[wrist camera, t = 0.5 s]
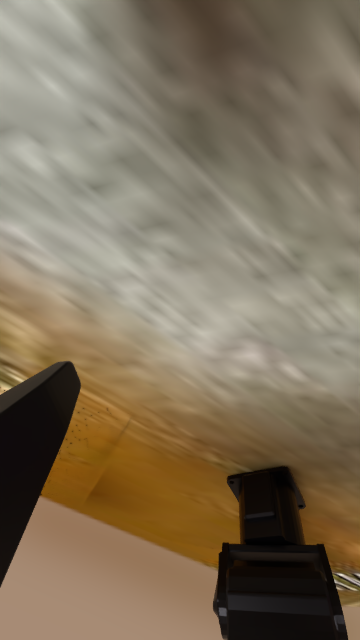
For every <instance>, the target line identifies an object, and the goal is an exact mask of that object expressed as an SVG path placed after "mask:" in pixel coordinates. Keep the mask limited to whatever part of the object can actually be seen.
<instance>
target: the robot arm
mask: <svg viewBox="0 0 360 640" xmlns="http://www.w3.org/2000/svg"><path fill="white" fill-rule="evenodd" d="M80 388H81V383H80V380H79V377H78V375H77V372H76V370H75V367H74V365H73V363H72V362H70V361H63V362H57V363H55V364H53V365H52V366H50V367H48V368H46V369H45V370H43V371H41V372H39V373H38V374H36V375H34V376H32V377H31V378H29V379H27V380H25V381H24V382H22V383H20V384H18V385H17V386H15V387H13V388H11V389H10V390H8V391H6V392H4V393H3V394H1V395H0V587H1V584H2V582H3V580H4V578H5V575H6V573H7V571H8V568H9V566H10V563H11V561H12V559H13V557H14V554H15V552H16V550H17V547H18V545H19V542H20V540H21V538H22V535H23V533H24V531H25V529H26V526H27V524H28V522H29V519H30V517H31V515H32V512H33V510H34V508H35V505H36V503H37V501H38V498H39V496H40V494H41V491H42V489H43V487H44V484H45V482H46V480H47V477H48V475H49V473H50V470H51V468H52V466H53V463H54V461H55V459H56V456H57V454H58V452H59V449H60V447H61V445H62V442H63V440H64V438H65V435H66V433H67V430H68V427H69V424H70V421H71V418H72V414H73V411H74V408H75V405H76V402H77V398H78V395H79V392H80ZM227 484H228V485H229V487H230V488H231V490H232V492H233V493H234V495H235V497H236V498H237V500H238V502H239V517H240V542H241V544H229V543H223V544H222V552H220V553H219V570H218V579H217V585H216V590H215V595H214V601H213V610H214V612H215V614H216V615H217V617H218V618H219V624H220V628H221V634H222V637H223V639H224V640H348V635H347V630H346V625H345V620H344V615H343V611H342V607H341V603H340V599H339V595H338V592H337V588H336V585H335V581H334V578H333V575H332V571H331V568H330V564H329V561H328V557H327V554H326V551H325V547H324V544H317V545H306V544H305V539H304V534H303V529H302V524H301V519H300V515H299V510H298V509H304V508H305V507H306V505H305V501H304V499H303V497H302V495H301V493H300V490H299V488H298V486H297V484H296V482H295V479H294V477H293V475H292V473H291V471H290V469H289V468H288V467H285V466H284V467H277V468H272V469H266V470H260V471H254V472H249V473H243V474H237V475H231V476H228V477H227Z"/></svg>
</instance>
